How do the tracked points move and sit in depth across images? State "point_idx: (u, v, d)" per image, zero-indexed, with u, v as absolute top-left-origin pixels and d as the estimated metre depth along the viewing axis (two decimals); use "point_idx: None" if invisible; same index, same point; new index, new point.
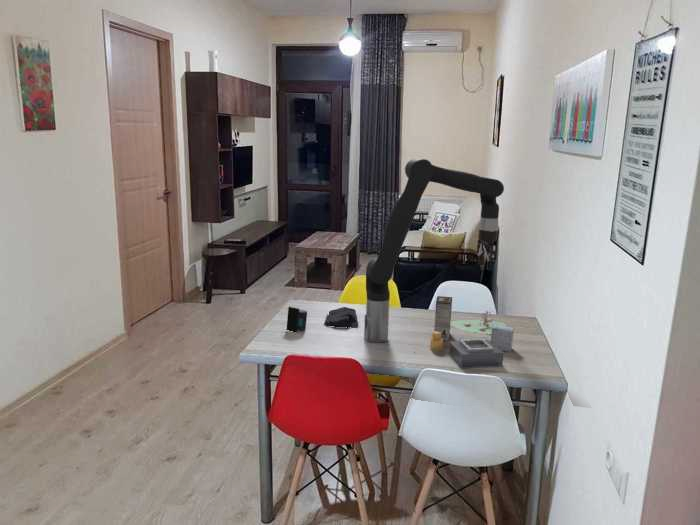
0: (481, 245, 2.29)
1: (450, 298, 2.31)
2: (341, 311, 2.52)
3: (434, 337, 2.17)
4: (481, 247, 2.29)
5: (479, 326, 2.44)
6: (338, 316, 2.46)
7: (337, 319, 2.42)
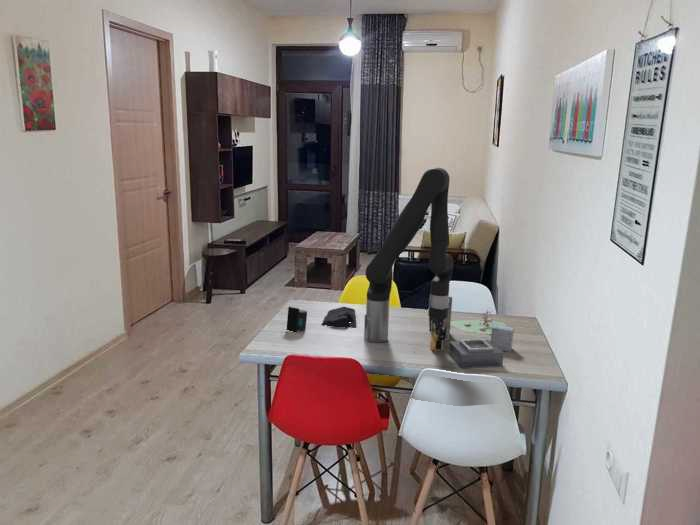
0: (432, 321, 2.18)
1: (450, 298, 2.31)
2: (340, 311, 2.53)
3: (434, 337, 2.17)
4: (432, 324, 2.18)
5: (479, 326, 2.44)
6: (336, 315, 2.47)
7: (335, 318, 2.42)
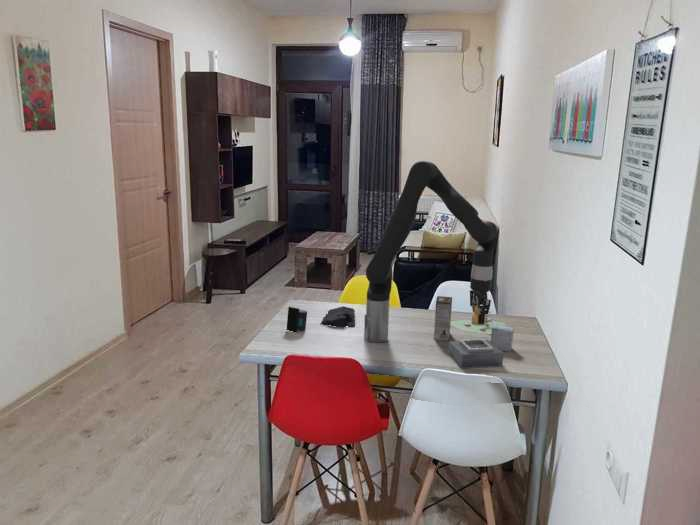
0: (473, 294, 2.05)
1: (450, 298, 2.31)
2: (339, 310, 2.53)
3: (476, 311, 2.04)
4: (474, 297, 2.05)
5: (479, 326, 2.44)
6: (335, 315, 2.47)
7: (334, 318, 2.43)
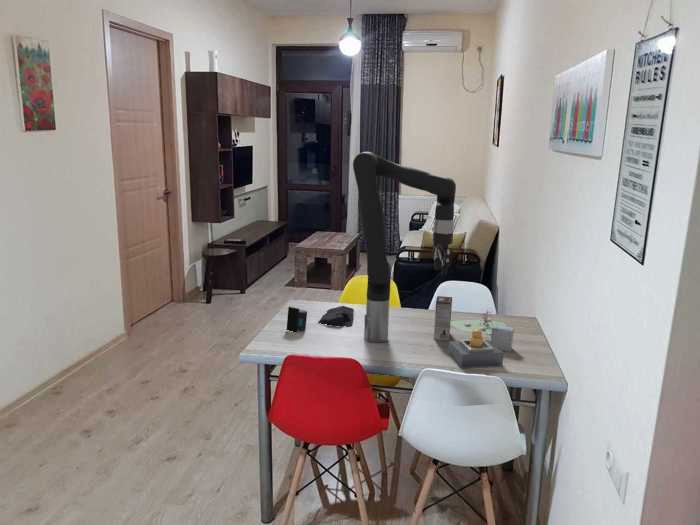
0: (436, 249, 2.14)
1: (450, 298, 2.31)
2: (338, 310, 2.54)
3: (474, 335, 2.06)
4: (436, 251, 2.15)
5: (479, 326, 2.44)
6: (333, 314, 2.48)
7: (331, 317, 2.44)
